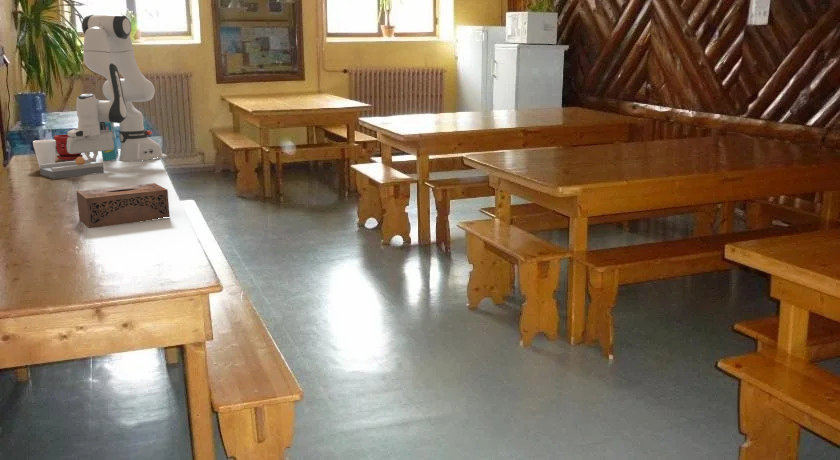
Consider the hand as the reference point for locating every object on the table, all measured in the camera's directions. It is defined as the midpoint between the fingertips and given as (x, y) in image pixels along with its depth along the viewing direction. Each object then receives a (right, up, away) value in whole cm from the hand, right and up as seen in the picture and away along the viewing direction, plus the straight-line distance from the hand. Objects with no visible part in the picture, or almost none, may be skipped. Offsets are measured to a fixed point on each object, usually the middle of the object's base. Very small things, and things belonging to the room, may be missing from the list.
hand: (92, 162), depth 362 cm
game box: (-7, +5, +40) cm, 41 cm away
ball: (-4, 0, -4) cm, 5 cm away
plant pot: (-25, +4, +35) cm, 43 cm away
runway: (-7, -6, -5) cm, 10 cm away
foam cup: (-23, -3, +6) cm, 24 cm away
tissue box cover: (+48, -27, -91) cm, 107 cm away
